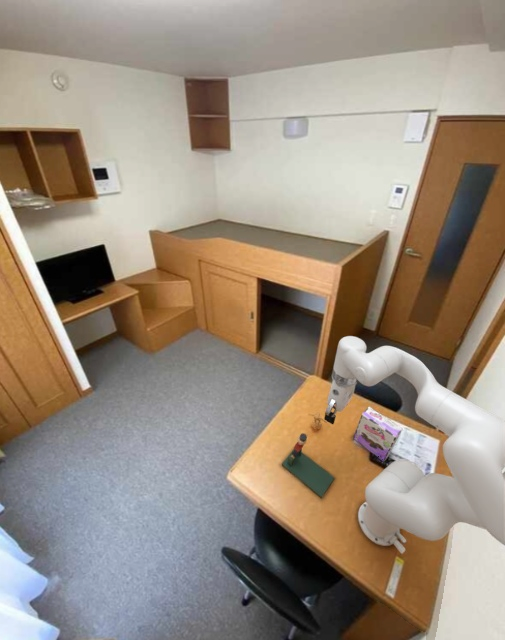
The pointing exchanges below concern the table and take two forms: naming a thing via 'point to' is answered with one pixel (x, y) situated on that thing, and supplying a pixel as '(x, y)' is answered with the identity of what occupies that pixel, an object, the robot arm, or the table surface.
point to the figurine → (317, 421)
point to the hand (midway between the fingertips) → (335, 412)
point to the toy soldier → (299, 445)
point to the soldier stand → (309, 473)
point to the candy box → (377, 433)
